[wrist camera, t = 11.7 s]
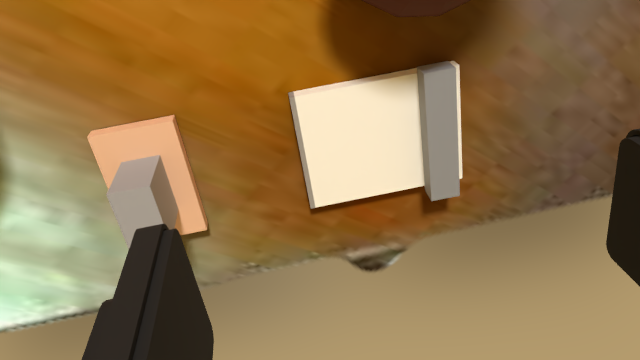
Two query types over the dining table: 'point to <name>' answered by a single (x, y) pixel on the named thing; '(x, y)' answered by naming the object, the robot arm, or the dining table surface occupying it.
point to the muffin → (416, 7)
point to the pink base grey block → (148, 176)
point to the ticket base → (381, 135)
